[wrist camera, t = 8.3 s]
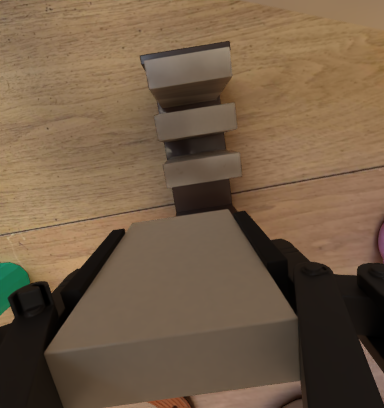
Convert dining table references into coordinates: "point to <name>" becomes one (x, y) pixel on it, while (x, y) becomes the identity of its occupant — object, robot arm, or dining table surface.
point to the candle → (10, 282)
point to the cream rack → (195, 125)
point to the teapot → (381, 241)
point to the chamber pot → (295, 404)
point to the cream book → (176, 319)
